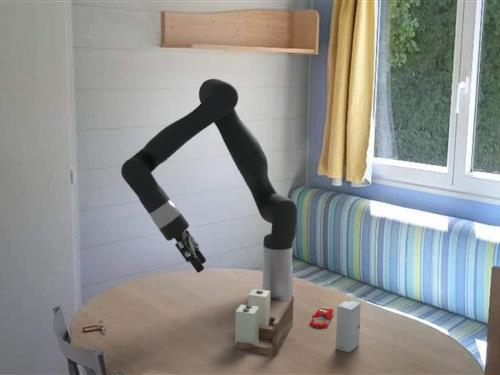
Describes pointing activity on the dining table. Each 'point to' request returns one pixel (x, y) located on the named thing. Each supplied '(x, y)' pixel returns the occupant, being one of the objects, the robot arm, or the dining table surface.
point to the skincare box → (348, 325)
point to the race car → (322, 318)
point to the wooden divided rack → (273, 331)
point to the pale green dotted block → (247, 324)
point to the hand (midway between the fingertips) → (202, 266)
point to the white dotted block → (261, 305)
